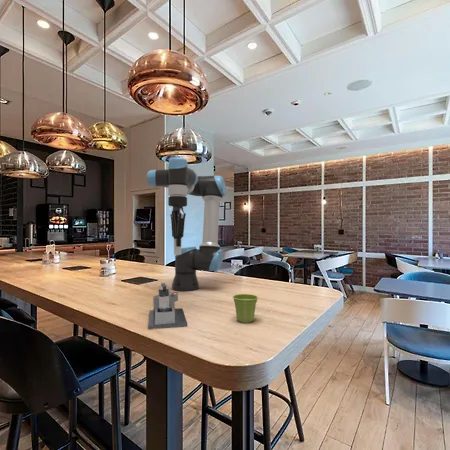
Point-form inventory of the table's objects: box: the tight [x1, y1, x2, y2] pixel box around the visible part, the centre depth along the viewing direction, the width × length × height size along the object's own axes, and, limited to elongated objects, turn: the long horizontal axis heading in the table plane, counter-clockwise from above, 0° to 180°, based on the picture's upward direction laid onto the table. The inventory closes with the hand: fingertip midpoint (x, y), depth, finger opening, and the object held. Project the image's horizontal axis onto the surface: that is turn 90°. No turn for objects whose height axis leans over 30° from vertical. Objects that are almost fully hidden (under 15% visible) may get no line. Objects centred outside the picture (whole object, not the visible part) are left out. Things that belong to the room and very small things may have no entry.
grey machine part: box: [152, 282, 179, 314], centre depth 111 cm, size 15×8×11 cm, turn 166°
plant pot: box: [232, 293, 259, 324], centre depth 103 cm, size 9×9×9 cm
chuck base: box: [147, 307, 188, 330], centre depth 104 cm, size 13×19×5 cm
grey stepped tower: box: [158, 282, 170, 312], centre depth 98 cm, size 4×6×13 cm, turn 19°
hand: (177, 254), depth 113 cm, fingers closed
